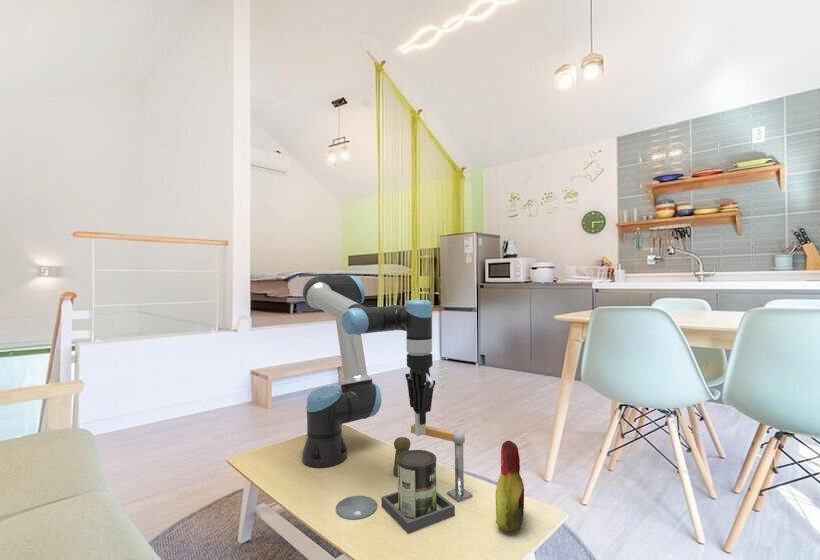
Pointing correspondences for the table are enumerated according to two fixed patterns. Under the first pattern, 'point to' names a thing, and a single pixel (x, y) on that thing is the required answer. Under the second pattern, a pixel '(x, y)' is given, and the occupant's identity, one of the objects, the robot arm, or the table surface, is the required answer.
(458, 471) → the post
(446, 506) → the square picture frame
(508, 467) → the bottle
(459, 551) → the table surface
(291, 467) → the table surface
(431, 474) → the coffee can
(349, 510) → the slate coaster
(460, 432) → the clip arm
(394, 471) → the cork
